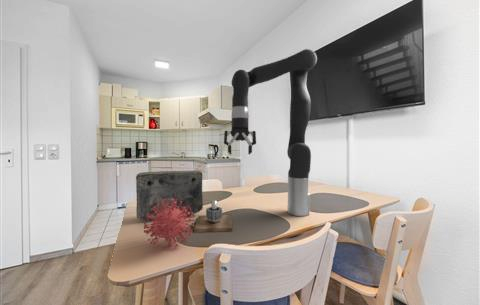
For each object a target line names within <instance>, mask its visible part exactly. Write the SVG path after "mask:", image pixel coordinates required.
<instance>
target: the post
mask: <svg viewBox="0 0 480 305" xmlns="http://www.w3.org/2000/svg"><path fill="white" fill-rule="evenodd" d="M217 204H218V201H217V200H216V199H213V200H212V199H211V205H210V207H211V210H212V211H216V210H217V207H218V205H217ZM208 222H209V223H212V224H214V223H219V222H220V219H217V220H211V219H208Z"/></svg>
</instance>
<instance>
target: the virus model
mask: <svg viewBox="0 0 480 305" xmlns="http://www.w3.org/2000/svg"><path fill="white" fill-rule="evenodd" d="M168 199H169V198H168ZM168 199H164V200H162V201H160V202H161V203H162V204H163V203H164V204H163V207H164V209H163V208H162V207H161V208H160V209H161V210H158V208H157V207H156V206H154V207H153V208H152V209H151V210H153V211H155V212H154V213H156V216H153V215H152V214H151V216H150V214H149V213H148V214H146V217H150V218H153V219H151V221H152V223H151V224H147V223H144V226H143V230H144V231H143V233H144V234H146V235H147V236H148V235H149V234H150V233H151V234H150V235H149V237H150V238H148V239H147V241H148V242H149V241H150V240H151V241H150V245H151V244H152V245H153V246H156V244H159V240H161V239H164V243H163V246H162V247H161V250H167V249H171V248H172V247H173V246H174V247H173V248H175V249H176V248H177V247H178V246H179V245H178V244H181V243H185V242H186V241H187V239H188V238H187V237H188V236H189V237H190V236H191V235H192V233H193V231H194V229H192V228H191V226H192V227H193V228H194V227H195V224H194V221H195V219H194V218H193V217H194V214H192V213H193V212H191V215H190V213H189V210H190V211H192V210H191V208H190V207H189V206H187V207H183V206H181V208H183V210H181V211H180V209H179V206H180V204H182V201H180V204H179V206H178V208H176V207H177V206H176V203H177V202H175V200H174V199H171V202H173V201H174V202H173V204H174V205H172V204H171V206H169V205H166V206H165V202H164V201H166V200H167V201H168ZM177 200H178V199H176V201H177ZM160 202H159V204H160ZM159 204H157V205H158V206H159ZM160 206H161V205H160ZM173 206H174V207H173ZM167 207H168V208H167ZM170 207H171V208H170ZM185 208H189V210H188V209H185ZM155 209H156V210H157V211H158V212H157V211H156V210H155ZM187 210H188V211H187ZM188 214H189V215H188ZM192 218H193V219H192ZM146 221H147V222H150V219H149V218H148V219H146ZM190 228H191V229H190ZM184 233H185V234H184ZM186 234H188V236H187V235H186ZM179 238H180V239H181V241H182V242H181V241H180V240H179ZM166 243H168V244H166ZM165 244H166V245H165Z"/></svg>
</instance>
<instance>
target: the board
mask: <svg viewBox="0 0 480 305" xmlns="http://www.w3.org/2000/svg"><path fill="white" fill-rule="evenodd" d="M193 228H194V229H193V233H203V232H204V233H206V232H210V233H211V232H233V224H232V217H231V214H222V218H220V222H219V223H214V224H212V223H209V222H208V219H207V218H206V214H205V215H198V216H197V219H196V221H195V224H194V227H193Z"/></svg>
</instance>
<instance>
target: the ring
mask: <svg viewBox="0 0 480 305" xmlns="http://www.w3.org/2000/svg"><path fill="white" fill-rule="evenodd" d="M205 210H206V212H205V215H206V218H207V219H211V220H217V219H220V218H222V215H223V208H222V207H220V206H217V210H216V211H212V210H211V206H210V207H209V206H208V207H206V209H205Z"/></svg>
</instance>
